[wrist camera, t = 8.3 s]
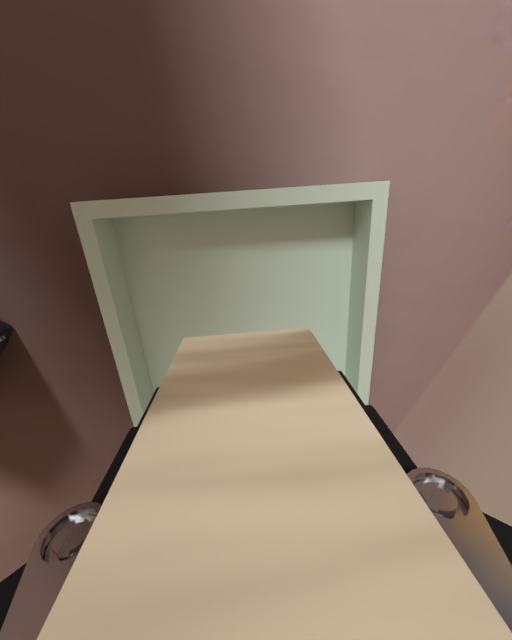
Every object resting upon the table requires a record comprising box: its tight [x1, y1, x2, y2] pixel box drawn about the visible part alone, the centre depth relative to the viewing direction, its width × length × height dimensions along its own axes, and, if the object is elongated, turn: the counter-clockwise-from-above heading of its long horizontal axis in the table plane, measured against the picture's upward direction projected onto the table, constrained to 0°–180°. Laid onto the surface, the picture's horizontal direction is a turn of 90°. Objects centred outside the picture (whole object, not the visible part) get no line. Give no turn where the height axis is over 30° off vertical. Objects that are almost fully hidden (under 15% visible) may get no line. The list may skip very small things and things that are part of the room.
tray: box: [70, 181, 390, 427], centre depth 17 cm, size 16×16×3 cm
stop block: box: [37, 327, 512, 640], centre depth 7 cm, size 5×5×9 cm
